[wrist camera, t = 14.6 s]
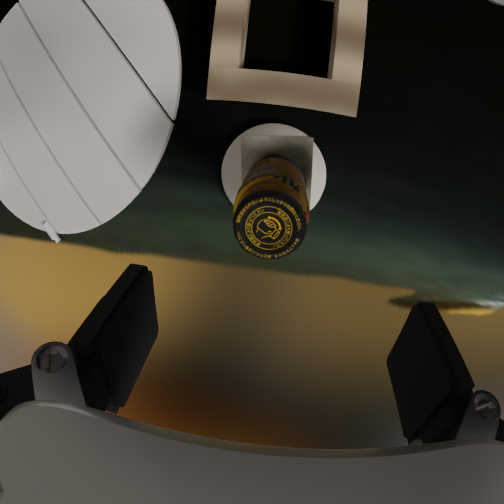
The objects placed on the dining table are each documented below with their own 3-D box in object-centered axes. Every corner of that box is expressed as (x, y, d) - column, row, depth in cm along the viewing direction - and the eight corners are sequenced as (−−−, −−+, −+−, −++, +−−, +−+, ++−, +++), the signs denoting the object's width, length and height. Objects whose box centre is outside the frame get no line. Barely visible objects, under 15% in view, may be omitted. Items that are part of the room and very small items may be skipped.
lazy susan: (53, 274, 43) (41, 285, 40) (-43, 110, 29) (-56, 114, 26) (252, 114, 30) (249, 116, 27) (94, -73, 16) (82, -81, 13)
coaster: (227, 118, 30) (225, 118, 29) (332, 131, 29) (333, 132, 28) (220, 214, 35) (218, 217, 34) (316, 226, 34) (316, 230, 34)
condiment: (242, 212, 33) (222, 268, 23) (241, 135, 30) (216, 154, 19) (309, 214, 33) (320, 272, 22) (313, 137, 29) (330, 157, 18)
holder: (228, -30, 21) (223, -43, 18) (360, -15, 21) (368, -26, 18) (214, 99, 29) (206, 99, 26) (348, 115, 28) (356, 117, 25)
